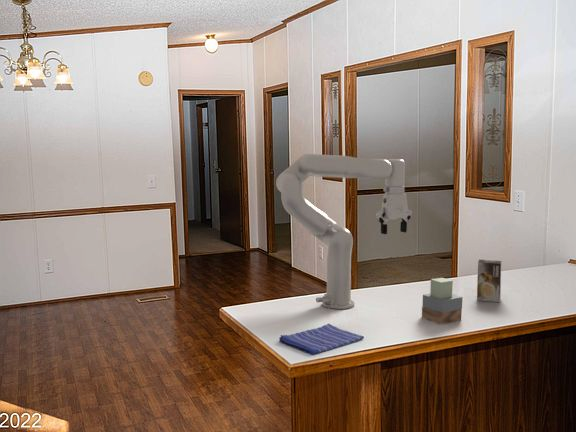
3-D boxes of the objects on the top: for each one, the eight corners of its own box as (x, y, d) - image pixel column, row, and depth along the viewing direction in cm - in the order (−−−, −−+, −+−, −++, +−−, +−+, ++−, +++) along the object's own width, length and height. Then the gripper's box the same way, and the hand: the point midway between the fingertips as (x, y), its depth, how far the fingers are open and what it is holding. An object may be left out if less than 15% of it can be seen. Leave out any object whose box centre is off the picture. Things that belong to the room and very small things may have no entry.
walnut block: (440, 325, 221) (440, 313, 220) (421, 318, 230) (422, 306, 229) (461, 321, 226) (461, 309, 225) (442, 314, 234) (442, 302, 234)
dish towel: (276, 343, 202) (276, 335, 202) (328, 328, 218) (328, 320, 217) (312, 357, 190) (312, 348, 189) (364, 340, 205) (364, 332, 204)
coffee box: (500, 298, 255) (502, 260, 253) (499, 302, 249) (501, 263, 247) (477, 296, 258) (479, 259, 256) (476, 300, 252) (477, 261, 250)
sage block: (440, 298, 223) (441, 282, 222) (430, 295, 228) (430, 279, 227) (452, 296, 225) (452, 280, 225) (441, 293, 230) (442, 277, 229)
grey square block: (442, 313, 220) (442, 300, 220) (422, 306, 229) (422, 294, 228) (462, 308, 226) (462, 296, 225) (441, 302, 234) (442, 291, 233)
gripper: (382, 192, 237) (381, 236, 239) (418, 190, 245) (416, 232, 247) (371, 190, 244) (370, 233, 246) (406, 188, 252) (405, 230, 254)
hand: (393, 232), depth 247 cm, fingers open, 9 cm apart
